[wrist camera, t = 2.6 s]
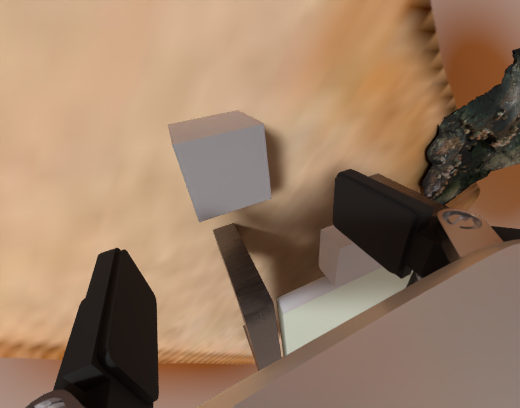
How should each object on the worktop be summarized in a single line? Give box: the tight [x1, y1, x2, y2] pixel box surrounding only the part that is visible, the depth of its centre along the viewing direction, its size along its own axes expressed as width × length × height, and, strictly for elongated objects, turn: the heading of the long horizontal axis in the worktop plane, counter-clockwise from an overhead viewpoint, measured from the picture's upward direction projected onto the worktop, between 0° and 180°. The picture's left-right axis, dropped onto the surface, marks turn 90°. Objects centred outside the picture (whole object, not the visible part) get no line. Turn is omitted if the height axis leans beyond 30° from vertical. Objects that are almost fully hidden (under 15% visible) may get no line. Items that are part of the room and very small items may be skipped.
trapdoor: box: [276, 225, 413, 356], centre depth 21 cm, size 19×14×2 cm
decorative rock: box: [422, 48, 520, 205], centre depth 28 cm, size 19×6×15 cm
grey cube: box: [168, 110, 272, 222], centre depth 15 cm, size 5×5×5 cm
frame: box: [213, 174, 449, 371], centre depth 25 cm, size 20×20×9 cm
